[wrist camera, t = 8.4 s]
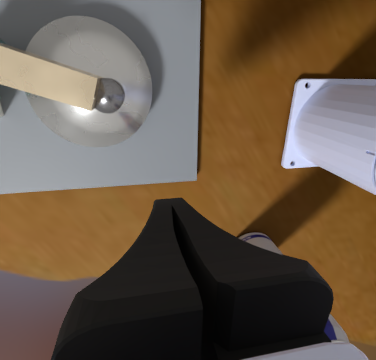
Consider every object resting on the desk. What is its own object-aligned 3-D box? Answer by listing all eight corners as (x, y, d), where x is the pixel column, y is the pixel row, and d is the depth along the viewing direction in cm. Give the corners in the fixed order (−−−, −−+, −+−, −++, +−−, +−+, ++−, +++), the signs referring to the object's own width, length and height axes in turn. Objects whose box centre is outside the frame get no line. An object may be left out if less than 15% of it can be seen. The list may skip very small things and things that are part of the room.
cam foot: (164, 48, 17) (172, 40, 13) (136, 153, 20) (135, 173, 15) (-17, -24, 14) (-83, -66, 10) (-22, 112, 16) (-75, 124, 12)
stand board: (198, -26, 16) (201, -30, 16) (194, 177, 22) (196, 180, 22) (-76, -48, 14) (-88, -55, 13) (3, 189, 20) (-2, 194, 19)
